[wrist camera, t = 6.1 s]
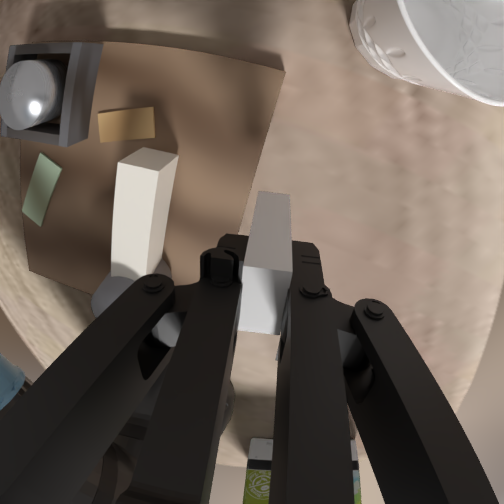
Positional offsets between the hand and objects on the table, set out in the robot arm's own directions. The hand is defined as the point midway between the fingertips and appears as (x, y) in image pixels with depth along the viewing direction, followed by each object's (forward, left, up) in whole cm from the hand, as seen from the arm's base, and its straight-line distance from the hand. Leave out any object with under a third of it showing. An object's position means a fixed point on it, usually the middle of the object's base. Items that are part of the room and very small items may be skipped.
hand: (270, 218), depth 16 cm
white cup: (+13, -5, -6) cm, 15 cm away
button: (+4, +16, -4) cm, 17 cm away
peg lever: (-5, +7, -4) cm, 10 cm away
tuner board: (-3, +11, -6) cm, 12 cm away
